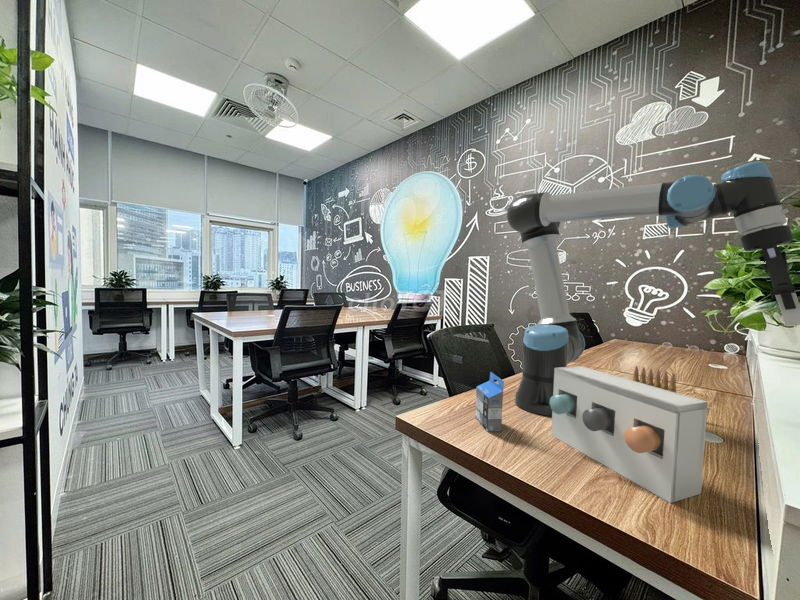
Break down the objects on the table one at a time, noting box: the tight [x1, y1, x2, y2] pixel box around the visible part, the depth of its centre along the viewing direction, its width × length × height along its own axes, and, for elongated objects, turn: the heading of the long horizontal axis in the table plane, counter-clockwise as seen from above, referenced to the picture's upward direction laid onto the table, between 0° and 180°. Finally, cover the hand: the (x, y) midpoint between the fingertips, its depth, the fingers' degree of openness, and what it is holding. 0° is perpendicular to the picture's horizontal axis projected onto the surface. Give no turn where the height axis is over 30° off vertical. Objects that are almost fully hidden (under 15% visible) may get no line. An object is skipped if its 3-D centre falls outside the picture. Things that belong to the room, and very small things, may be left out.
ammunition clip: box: [631, 365, 677, 393], centre depth 94 cm, size 11×2×12 cm, turn 36°
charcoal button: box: [582, 408, 612, 431], centre depth 64 cm, size 4×3×4 cm
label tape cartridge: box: [474, 371, 505, 433], centre depth 81 cm, size 9×4×12 cm, turn 6°
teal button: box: [550, 394, 575, 414], centre depth 72 cm, size 4×3×4 cm
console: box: [550, 365, 708, 504], centre depth 65 cm, size 25×8×16 cm, turn 20°
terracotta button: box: [624, 426, 660, 453], centre depth 56 cm, size 4×3×4 cm
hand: (794, 322), depth 71 cm, fingers open, 13 cm apart
